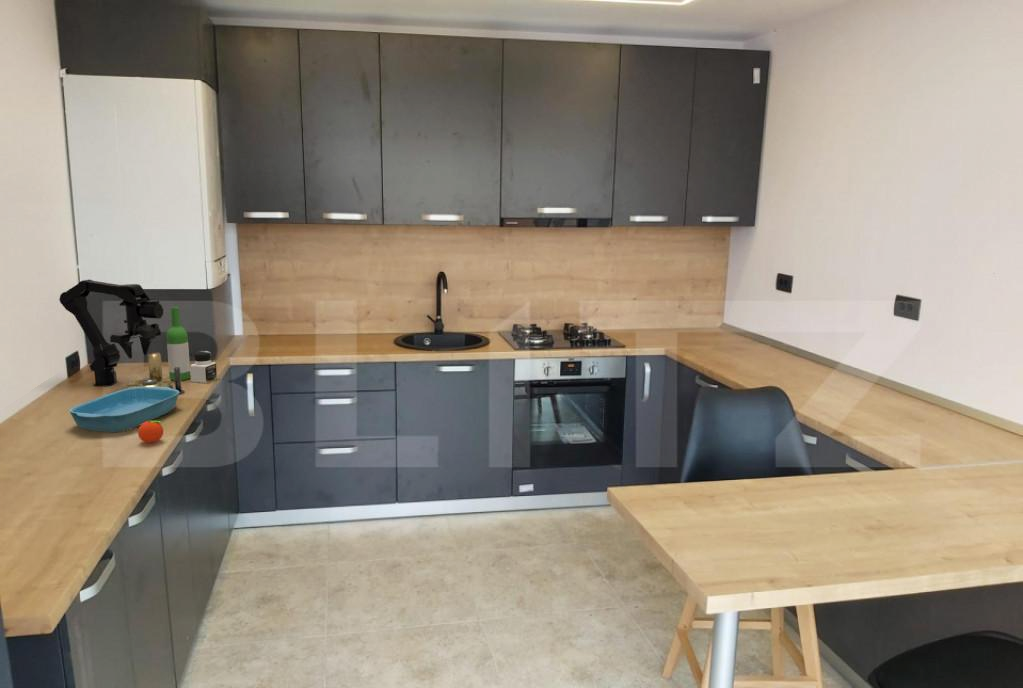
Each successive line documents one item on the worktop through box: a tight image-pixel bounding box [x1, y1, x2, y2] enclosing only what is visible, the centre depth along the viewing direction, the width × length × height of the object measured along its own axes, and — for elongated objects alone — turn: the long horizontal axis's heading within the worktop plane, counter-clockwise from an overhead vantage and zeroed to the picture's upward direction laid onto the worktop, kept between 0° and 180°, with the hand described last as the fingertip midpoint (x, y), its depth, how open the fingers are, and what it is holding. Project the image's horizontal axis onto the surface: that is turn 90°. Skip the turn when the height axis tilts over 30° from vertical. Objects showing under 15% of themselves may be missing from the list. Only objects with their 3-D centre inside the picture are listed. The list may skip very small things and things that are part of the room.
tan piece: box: [127, 352, 172, 388], centre depth 256 cm, size 14×15×12 cm
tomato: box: [137, 420, 168, 444], centre depth 211 cm, size 8×7×7 cm
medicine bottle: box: [190, 350, 218, 384], centre depth 279 cm, size 7×7×12 cm
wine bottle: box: [166, 306, 191, 382], centre depth 278 cm, size 8×8×30 cm
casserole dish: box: [69, 386, 180, 433], centre depth 232 cm, size 37×22×7 cm, turn 170°
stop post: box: [174, 367, 185, 395], centre depth 261 cm, size 4×4×10 cm
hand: (137, 356), depth 267 cm, fingers open, 7 cm apart
